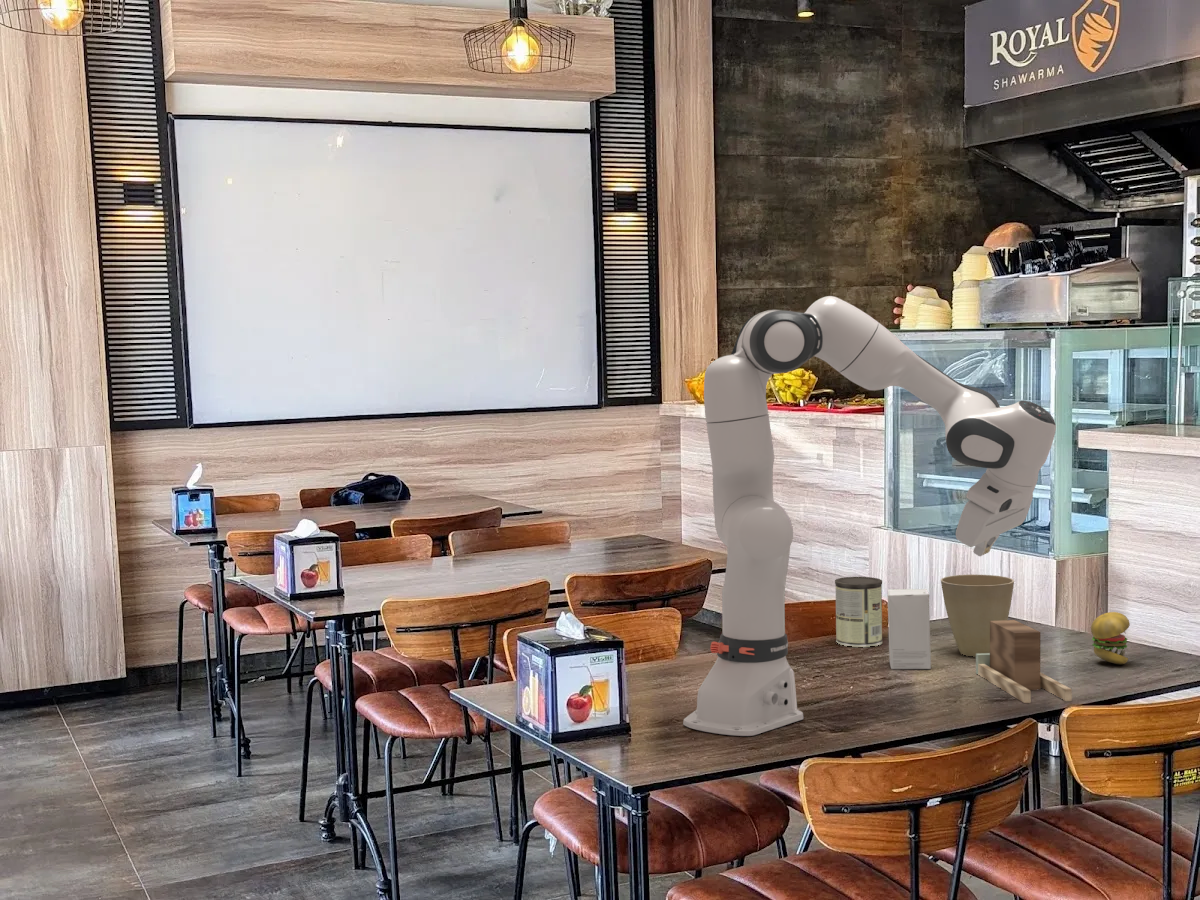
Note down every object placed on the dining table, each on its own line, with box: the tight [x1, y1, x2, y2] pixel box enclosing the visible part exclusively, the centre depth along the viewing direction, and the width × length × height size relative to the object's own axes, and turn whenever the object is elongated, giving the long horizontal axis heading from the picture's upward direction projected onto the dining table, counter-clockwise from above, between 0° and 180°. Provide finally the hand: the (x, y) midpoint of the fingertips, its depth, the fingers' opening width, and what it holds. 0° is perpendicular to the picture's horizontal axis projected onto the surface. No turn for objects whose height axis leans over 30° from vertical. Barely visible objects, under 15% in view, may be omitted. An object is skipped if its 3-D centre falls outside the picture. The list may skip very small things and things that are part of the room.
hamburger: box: [1090, 606, 1131, 665], centre depth 264 cm, size 8×7×12 cm
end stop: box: [975, 653, 990, 675], centre depth 258 cm, size 1×9×4 cm, turn 95°
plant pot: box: [940, 574, 1015, 658], centre depth 275 cm, size 15×15×16 cm
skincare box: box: [887, 588, 932, 670], centre depth 265 cm, size 8×7×16 cm
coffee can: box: [834, 576, 884, 648], centre depth 288 cm, size 10×10×14 cm
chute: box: [978, 664, 1073, 704], centre depth 246 cm, size 22×9×2 cm, turn 5°
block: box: [990, 619, 1041, 691], centre depth 250 cm, size 12×5×11 cm, turn 5°
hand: (980, 553), depth 239 cm, fingers closed
